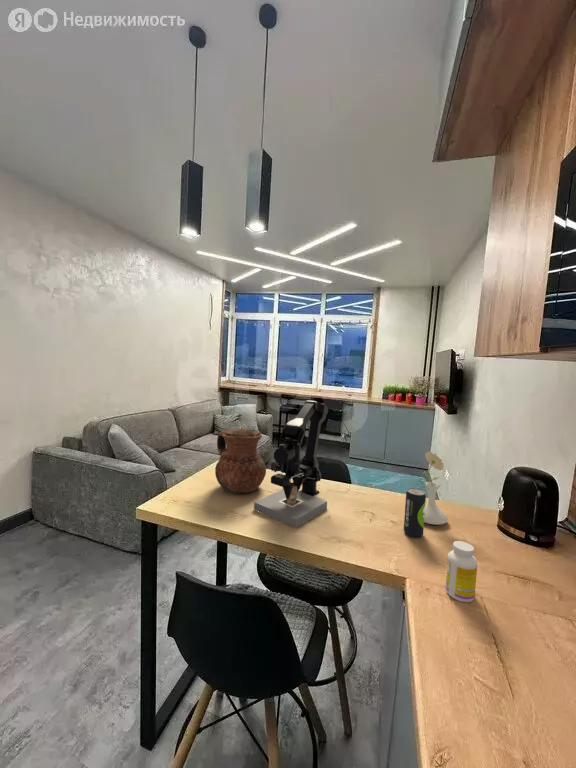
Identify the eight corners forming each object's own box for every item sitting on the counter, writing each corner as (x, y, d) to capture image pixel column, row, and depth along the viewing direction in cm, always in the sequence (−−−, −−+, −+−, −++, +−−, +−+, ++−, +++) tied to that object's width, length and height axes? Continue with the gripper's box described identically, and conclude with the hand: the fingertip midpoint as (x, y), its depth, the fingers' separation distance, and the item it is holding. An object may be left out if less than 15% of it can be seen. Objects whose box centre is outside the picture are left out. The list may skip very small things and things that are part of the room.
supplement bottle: (480, 599, 84) (485, 550, 83) (461, 606, 81) (466, 556, 80) (457, 582, 90) (461, 536, 89) (439, 588, 88) (443, 541, 86)
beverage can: (399, 531, 116) (402, 489, 115) (412, 527, 119) (415, 486, 118) (414, 540, 111) (417, 496, 109) (427, 536, 114) (430, 493, 112)
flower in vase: (453, 528, 119) (458, 459, 117) (421, 527, 119) (426, 458, 117) (436, 511, 132) (441, 449, 130) (407, 510, 132) (412, 448, 130)
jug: (265, 479, 160) (267, 427, 158) (265, 498, 139) (267, 438, 137) (218, 479, 158) (219, 426, 156) (211, 497, 138) (212, 437, 135)
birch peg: (290, 503, 133) (290, 483, 132) (298, 506, 130) (299, 486, 130) (283, 506, 130) (283, 486, 129) (291, 510, 127) (292, 489, 126)
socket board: (286, 494, 144) (287, 487, 144) (326, 508, 132) (327, 500, 131) (253, 509, 128) (254, 501, 128) (295, 527, 116) (296, 519, 116)
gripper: (291, 448, 140) (289, 484, 142) (260, 457, 126) (259, 498, 127) (313, 453, 134) (311, 491, 135) (283, 464, 119) (281, 507, 120)
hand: (291, 496), depth 130 cm, fingers closed on birch peg, 4 cm apart
